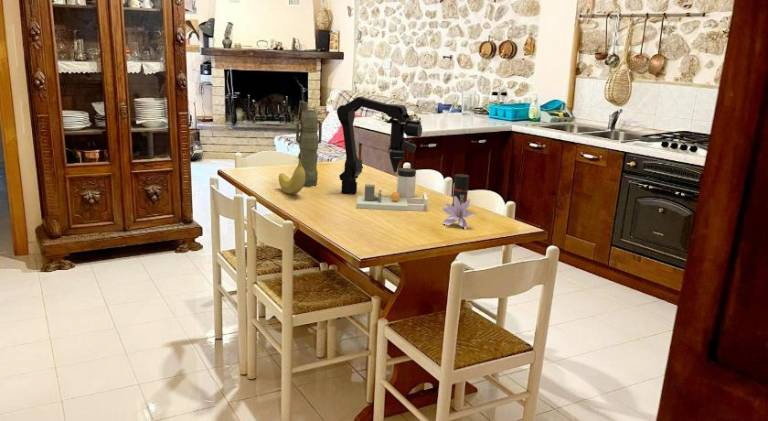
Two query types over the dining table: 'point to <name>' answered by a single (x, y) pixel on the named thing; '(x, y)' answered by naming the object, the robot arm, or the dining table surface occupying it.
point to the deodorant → (460, 188)
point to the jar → (406, 182)
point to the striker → (371, 193)
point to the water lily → (457, 212)
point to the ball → (395, 196)
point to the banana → (293, 179)
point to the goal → (417, 203)
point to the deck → (382, 204)
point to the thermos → (309, 145)
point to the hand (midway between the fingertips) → (394, 170)
